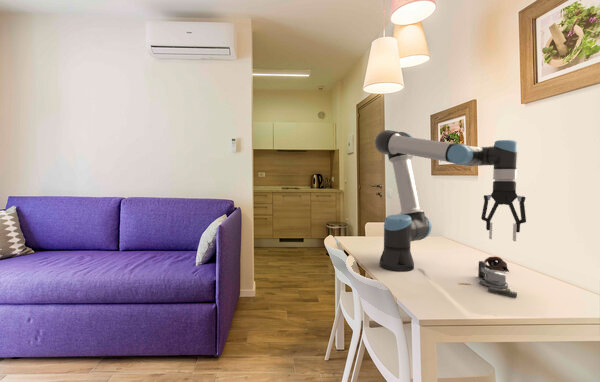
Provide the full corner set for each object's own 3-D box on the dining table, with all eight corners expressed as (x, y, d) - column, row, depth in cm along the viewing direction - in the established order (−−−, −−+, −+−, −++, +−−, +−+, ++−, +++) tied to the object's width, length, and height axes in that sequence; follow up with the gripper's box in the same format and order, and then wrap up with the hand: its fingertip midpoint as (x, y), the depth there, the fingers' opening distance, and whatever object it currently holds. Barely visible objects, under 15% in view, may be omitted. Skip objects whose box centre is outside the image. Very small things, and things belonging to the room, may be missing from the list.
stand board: (452, 288, 119) (453, 278, 119) (469, 277, 133) (469, 268, 133) (515, 303, 106) (515, 291, 105) (526, 288, 119) (526, 278, 119)
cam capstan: (513, 289, 114) (513, 272, 114) (486, 288, 115) (487, 271, 115) (491, 276, 129) (492, 261, 128) (468, 275, 129) (469, 260, 129)
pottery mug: (515, 278, 134) (509, 262, 132) (493, 286, 135) (486, 271, 133) (500, 263, 145) (494, 248, 143) (479, 271, 147) (473, 256, 145)
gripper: (534, 180, 123) (531, 240, 124) (474, 180, 132) (472, 235, 133) (538, 181, 116) (535, 244, 117) (475, 180, 125) (473, 238, 126)
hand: (502, 239), depth 125 cm, fingers open, 7 cm apart
